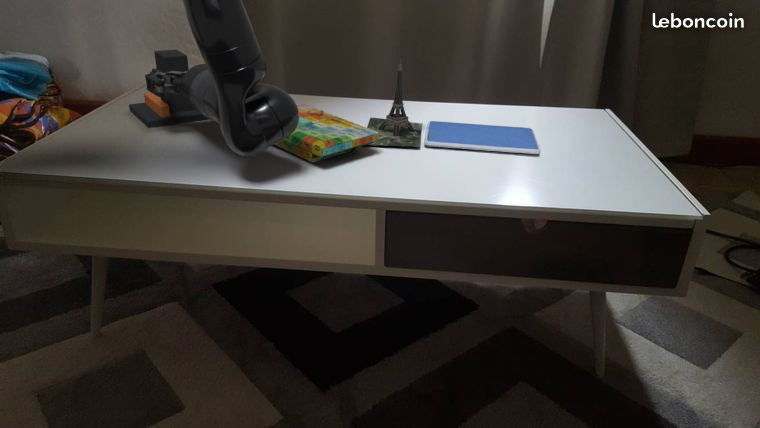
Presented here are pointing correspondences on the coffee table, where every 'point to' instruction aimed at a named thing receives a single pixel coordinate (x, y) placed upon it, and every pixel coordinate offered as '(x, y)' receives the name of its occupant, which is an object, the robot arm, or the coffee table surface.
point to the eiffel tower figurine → (396, 123)
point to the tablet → (481, 137)
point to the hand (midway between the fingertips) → (179, 72)
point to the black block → (175, 62)
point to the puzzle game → (324, 135)
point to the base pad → (161, 113)
